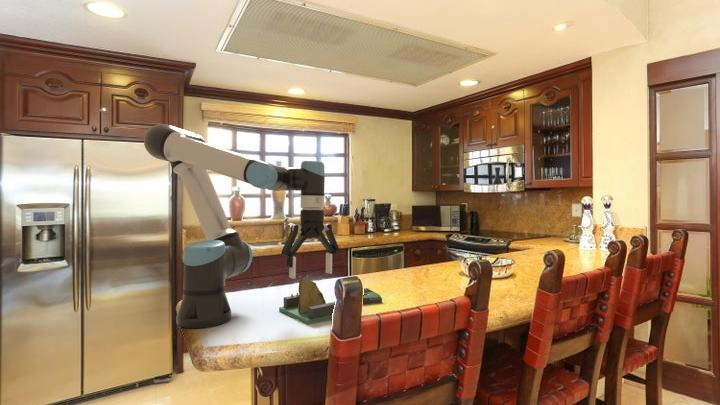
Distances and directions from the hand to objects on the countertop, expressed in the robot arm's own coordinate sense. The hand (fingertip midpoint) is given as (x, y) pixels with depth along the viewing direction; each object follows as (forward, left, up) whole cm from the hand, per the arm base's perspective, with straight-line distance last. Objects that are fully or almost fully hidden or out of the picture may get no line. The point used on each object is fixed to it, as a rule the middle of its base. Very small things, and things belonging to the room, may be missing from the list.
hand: (311, 275), depth 118 cm
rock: (0, 0, -11) cm, 11 cm away
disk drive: (+24, +4, -13) cm, 28 cm away
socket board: (0, 0, -12) cm, 12 cm away
